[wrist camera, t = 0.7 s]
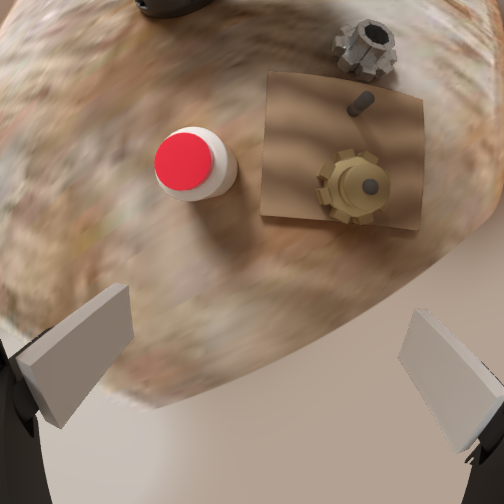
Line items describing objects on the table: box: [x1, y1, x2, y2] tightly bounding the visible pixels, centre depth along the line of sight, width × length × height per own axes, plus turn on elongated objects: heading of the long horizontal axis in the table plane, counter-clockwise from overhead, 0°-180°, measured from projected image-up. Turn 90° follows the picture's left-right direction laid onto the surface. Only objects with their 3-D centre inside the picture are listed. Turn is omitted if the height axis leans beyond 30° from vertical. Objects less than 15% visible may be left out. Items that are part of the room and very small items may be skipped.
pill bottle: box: [154, 127, 238, 202], centre depth 28 cm, size 8×8×11 cm
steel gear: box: [331, 19, 397, 82], centre depth 25 cm, size 9×9×7 cm
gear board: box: [260, 71, 424, 231], centre depth 27 cm, size 19×22×9 cm
